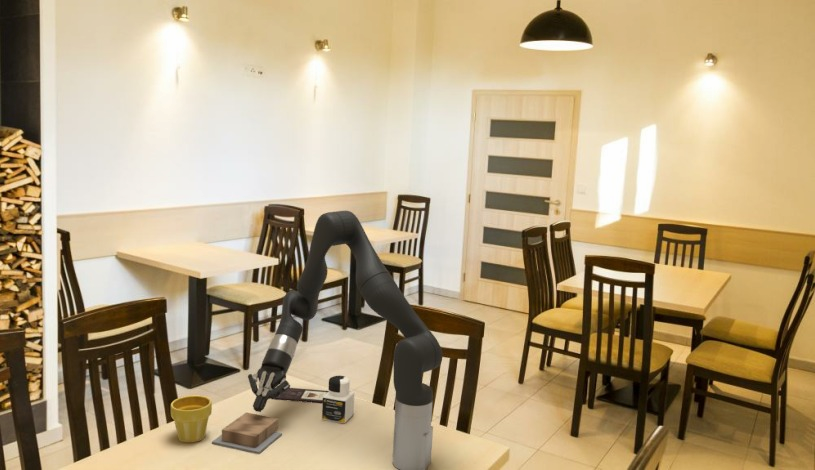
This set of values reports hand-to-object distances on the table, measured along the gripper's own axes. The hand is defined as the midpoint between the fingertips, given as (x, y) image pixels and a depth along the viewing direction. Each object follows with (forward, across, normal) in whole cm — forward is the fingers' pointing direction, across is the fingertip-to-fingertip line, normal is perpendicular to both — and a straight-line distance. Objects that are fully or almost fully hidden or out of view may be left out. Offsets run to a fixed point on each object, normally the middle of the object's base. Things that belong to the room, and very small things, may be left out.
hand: (257, 410), depth 183 cm
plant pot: (+11, -14, -2) cm, 18 cm away
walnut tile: (+1, 0, +5) cm, 5 cm away
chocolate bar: (-15, 0, +25) cm, 29 cm away
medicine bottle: (-8, +16, +18) cm, 25 cm away
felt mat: (+8, 0, +1) cm, 8 cm away
